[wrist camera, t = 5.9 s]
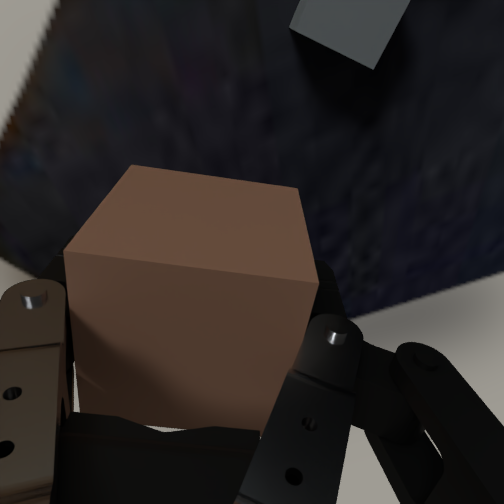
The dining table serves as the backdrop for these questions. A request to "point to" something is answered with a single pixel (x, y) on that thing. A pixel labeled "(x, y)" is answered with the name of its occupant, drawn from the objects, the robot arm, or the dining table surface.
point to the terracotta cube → (189, 299)
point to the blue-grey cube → (350, 25)
